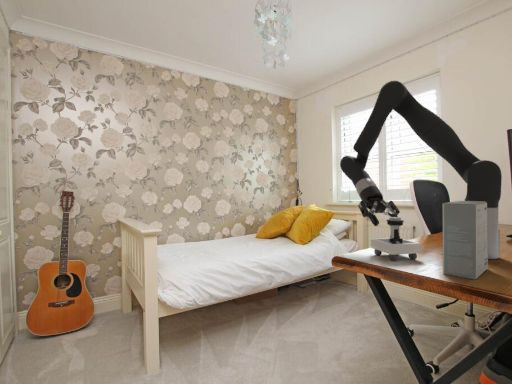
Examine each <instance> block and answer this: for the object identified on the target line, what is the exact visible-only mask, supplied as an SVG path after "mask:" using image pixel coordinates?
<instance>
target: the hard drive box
mask: <svg viewBox="0 0 512 384" xmlns="http://www.w3.org/2000/svg"><path fill="white" fill-rule="evenodd" d="M488 260H489V259H488V245H487V202H484V201H465V200H453V201H449V202H444V203H442V274H443V275H448V276H453V277H459V278H464V279H468V280H476V279H479V277H480V276H481V275H483V273H484V272H485V271H486V270H487V269H488V268H489V266H488V265H489V264H488V263H489V261H488Z"/></svg>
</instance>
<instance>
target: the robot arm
mask: <svg viewBox="0 0 512 384" xmlns="http://www.w3.org/2000/svg"><path fill="white" fill-rule="evenodd" d="M378 93H379V94H378V95H377V99H376V101H375V103H374V107H373V109H372V110H371V112H370V113H371V114H370V115H369V118H368V120H367V121H366V124H365V125H364V127H363V129H362V130H361V132H360V133H359V135H358V137H357V139H356V141H355V143H354V145H353V148H352V149H353V150H354V152H355V153H357V155H356V156H352V155H345V156H343V157H342V158H341V160H340V163H339V165H340V169H341V171H342V173H343V174H344V175H345V176H346V177H347V178H348V179H349V180H350V181H351V182H352V184H353V186H354V187H355V190H356V192H357V194H358V196H359V198H360V199H361V200H360V202H359V204H358V205H357V206H358V208H359V210H360V213H361V215H362V217H364V218H368V219H369V220H370V222H371V224H372V225H373V226H374V227H378V226H379V225H380V221H379V219H378V218H377V215H376V214H383V215H385V216H388V217H399V216H398V215H399V214H400V212H401V211H400V209H399V208H398V207H397V205H396V204H395V202H394V201H392V200H390V201H389V202H387V201H385V200H384V195H383V193H382V192H381V190H380V189H379V187H378V186H377V184H376V183H375V181H374V180H373V179H372V178H371V176H370V175H369V173H368V172H367V170H365V168H366V166H367V164H368V163H367V162H368V159H369V156H370V152H371V150H372V149H373V148H374V146H375V144H376V142H377V140H378V139H379V136H380V134H381V132H382V130H383V127H384V125H385V123H386V121H387V119H388V117H389V115H391V114H390V113H392V111H395V113H397V114H398V115H399V116H401V117H402V119H404V120H405V121H406V122H407V124H408V126H410V128H411V130H412V131H413V132H414V133H415V135H416V136H417V137H418V138H419V139H420V140H422V141H423V143H425V145H427V146H428V147H429V148H430V149H431V150H433V151H434V152H435V153H436V154H438V155H439V156H440V157H441V158H442V159H443V160H445V161H446V162H447V163H448V164H449V165H450V166H451V167H452V168H453V170H455V172H456V173H458V175H459V176H460V178H461V179H462V180H463V181H464V182H465V183H466V188H467V189H466V195H465V198H464V201H484V202H487V245H488V260H496V259H497V260H498V259H499V258H501V229H499V202H500V200H501V195H502V180H503V179H502V178H503V177H502V170H501V168H500V166H499V165H498V164H497V163H496V162H494V161H491V160H483V159H480V158H479V157H477V156H476V155H474V154H473V153H472V152H471V151H470V150H469V149H467V147H466V146H465V145H464V143H463V142H462V141H461V139H460V138H459V136H458V134H457V133H456V131H455V130H454V129H453V127H452V126H450V125H449V124H448V123H447V122H445V120H443V118H441V117H440V116H438V114H436V113H434V112H433V111H432V110H430V109H428V108H427V107H425V106H423V105H422V104H421V103H420V102H419V101H418V100H417V99H416V98H415V97H414V96H413V95H412V94H411V92H410V91H409V90H408V89H407V87H406V86H405V84H403V83H402V82H400V81H398V80H390V81H388V82H386V83H384V84H383V85H382V87H381V89H380V90H379V92H378ZM368 209H369V210H368ZM386 209H387V210H386Z"/></svg>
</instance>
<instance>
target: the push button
mask: <svg viewBox="0 0 512 384" xmlns="http://www.w3.org/2000/svg"><path fill="white" fill-rule="evenodd" d="M388 217H389V219H386V224H387V226H389V227H390V236H389V238H390V239H388V243H391V244H402V239H403V238H401V236H400V228H401V226H404V222H405V221H404V220H402V218H401V217H399V216H398V217H390V216H388Z"/></svg>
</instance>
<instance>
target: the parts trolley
mask: <svg viewBox="0 0 512 384" xmlns="http://www.w3.org/2000/svg"><path fill="white" fill-rule="evenodd" d="M388 239H390V237H383V238H382V237H381V238H370V248H371V249H374V252H373V253H374V254H375V256H382V253H386V254H388V259H389V261H391V262H394V261H397V260H398V255H407V254H408V259H410V260H417V257H418V255H417V254H421V253H422V243H421V242H417V241H412V240H410V239H404V238H401V239H402V244H391V243H388Z"/></svg>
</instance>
